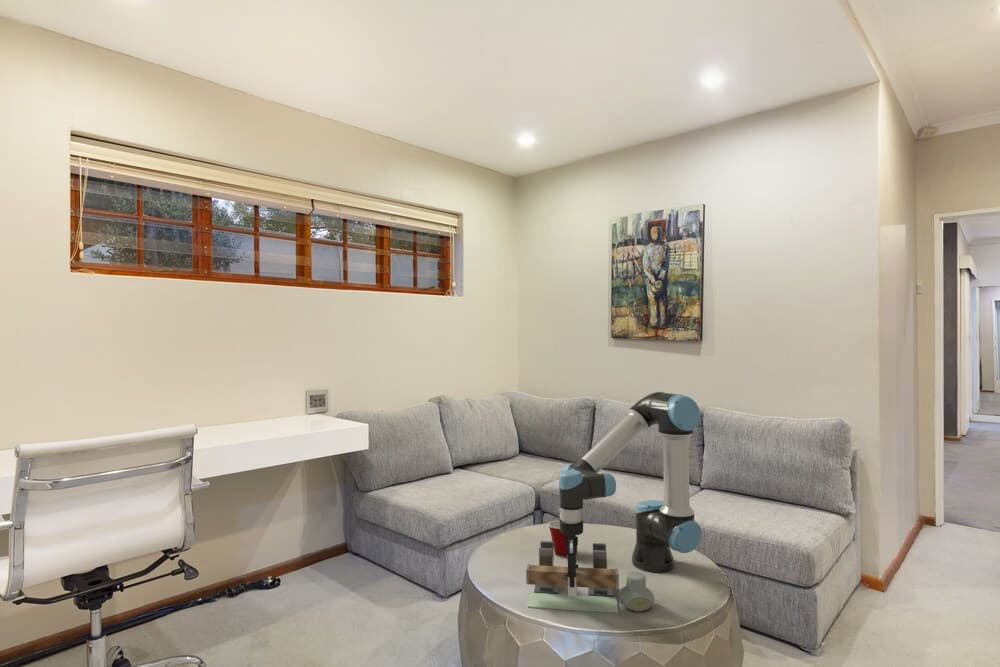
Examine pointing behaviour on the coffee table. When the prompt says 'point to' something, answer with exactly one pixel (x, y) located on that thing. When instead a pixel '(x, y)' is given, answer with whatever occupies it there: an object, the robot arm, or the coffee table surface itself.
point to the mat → (573, 602)
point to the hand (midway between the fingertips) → (572, 592)
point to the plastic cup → (557, 538)
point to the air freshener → (636, 593)
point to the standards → (548, 560)
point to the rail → (583, 576)
